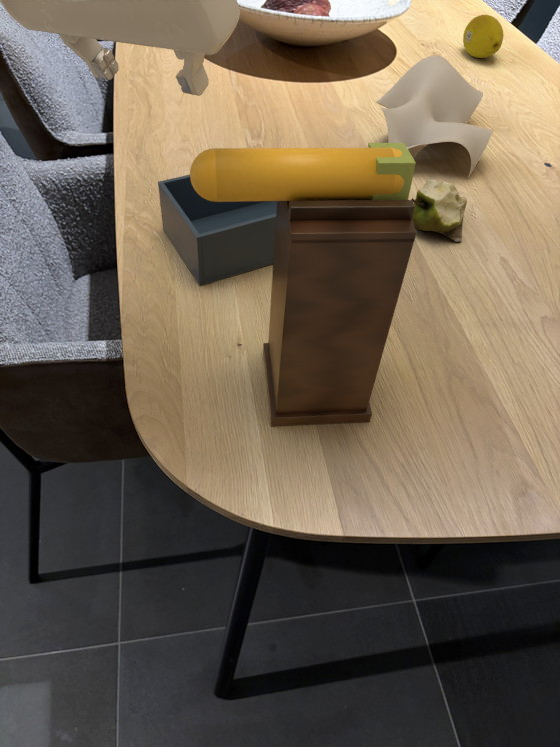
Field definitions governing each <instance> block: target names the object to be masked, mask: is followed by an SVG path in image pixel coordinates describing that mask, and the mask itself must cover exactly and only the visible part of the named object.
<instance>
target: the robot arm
mask: <svg viewBox="0 0 560 747" xmlns="http://www.w3.org/2000/svg"><path fill="white" fill-rule="evenodd" d="M0 4H1V6H2V7H3V8H4V10H5V11H6V13H7V14H8V15H9V16H10V17H11V18H12V19H14V20H15V21H16V22H17V23H18V24H19V25H21V26H22V27H23V28H25V29H26V30H28V31H34V32H42V33H50V34H55V35H56V34H57V35H58V36H59V37H60V39H61V41H62V42H63V44H64V45H65V46H67V48H69V49H70V50H71V51H72V52H73V53H74V54H75V55H76V56H77V57H79V59H81V60H82V61H83V62H85V63H86V65H87V67H88V68H89V70H90V72H91V74H92V75H93V77H94V78H95V79H100V80H106V81H111V80H112V79H114V75H116V74H117V73H118V72H119V69H120V68H119V63H118V61H117V60H116V59H115V56H114V54H113V52H112V50H111V49H110V48H106V47H105V48H104V47H103V45H102V44H101V43H100V42H99V41H98V40H100V41H107V42H114V43H121V44H129V45H136V46H141V47H149V48H155V49H156V48H157V49H165V50H170V51H171V50H172V51H173V52H174V55H175V57H176V59H178V60H181V61H182V60H183V66H182V69H180V70H179V71H178V72H177V74H176V75H175V78H176V81H177V83H178V85H179V86H180V87H181V88H180V89H181V92H182V93H183V94H186V95H192V96H196V97H200V96H202V95H203V94H204V92H205V91H206V89H207V88H208V86H209V82H210V79H209V77H208V74H207V71H206V69H205V66H204V61H205V56H213V55H216V54H217V53H218V52H219V51H220V50H221V49H222V48H223V46H224V45H225V44H226V42H227V41H228V40H229V39H230V37H231V35H232V34H233V33H234V31H235V29H236V27H237V25H238V23H239V21H240V17H241V10H240V6H239V3H238V0H0Z"/></svg>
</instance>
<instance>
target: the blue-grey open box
mask: <svg viewBox="0 0 560 747" xmlns="http://www.w3.org/2000/svg"><path fill="white" fill-rule="evenodd" d="M157 186H158V193H159V194H158V196H159V203H160V204H159V205H160V213H161V214H160V215H161V222H162V223H161V224H162V231H163V232H164V234H165V235H166V237H167V238H168V240H169V241H170V243H171V244H172V246H173V247H174V249H175V250H176V252H177V254H178V255H179V257H180V258H181V260H182V262H184V264H185V265H186V267H187V269H188V270H189V272H190V274H191V275H192V277H193V278H194V279H195V281H196V282H197V284H198V286H200V287H201V286H205V285H208V284H212V283H214V282H218V281H221V280H224V279H228V278H232V277H234V276H237V275H241V274H244V273H248V272H252V271H254V270H259V269H261V268H264V267H268V266H273V259H274V243H275V227H276V211H277V201H237V202H214V201H209V200H206V199H204V198H202V197H201V196H200V195H199V194H198V193H197V192H196V191H195V189H194V188H193V186H192V183H191V179H190V174H185V175H181V176H178V177H177V176H176V177H173V178H169V179H168V178H167V179H164V180H159V181H157Z"/></svg>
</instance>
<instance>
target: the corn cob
mask: <svg viewBox="0 0 560 747" xmlns="http://www.w3.org/2000/svg"><path fill="white" fill-rule="evenodd" d="M416 165H417V162H416V160H415V159H413V157H412V155H411V154H410V152H409V150H408V149H407V147H406V145H405V144H404V143H388V142H368V145H367V147H248V148H247V147H241V148H239V147H234V148H233V147H231V148H229V147H226V148H225V147H224V148H223V147H222V148H220V147H217V148H215V147H214V148H208V149H205V150H203V151H202V152H200V153H199V154H198V155H197V156H196V157H195V158H194V159H193V160H192V163H191V166H190V169H189V175H190V179H191V183H192V186H193V188H194V189H195V191H196V192H197V193H198V194H199V195H200V196H201V197H202V198H204V199H206V200H209V201H214V202H237V201H305V200H409V196H410V192H411V187H412V183H413V178H414V174H415V169H416Z"/></svg>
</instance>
